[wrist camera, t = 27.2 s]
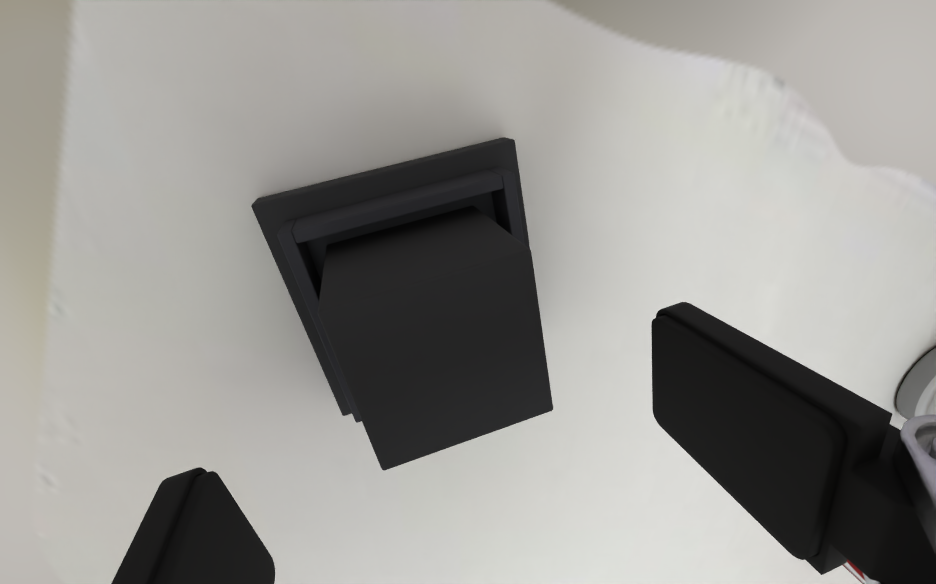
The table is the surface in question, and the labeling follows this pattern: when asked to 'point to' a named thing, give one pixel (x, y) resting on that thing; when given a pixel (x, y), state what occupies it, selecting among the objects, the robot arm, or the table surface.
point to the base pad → (381, 221)
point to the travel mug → (919, 389)
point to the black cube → (435, 332)
